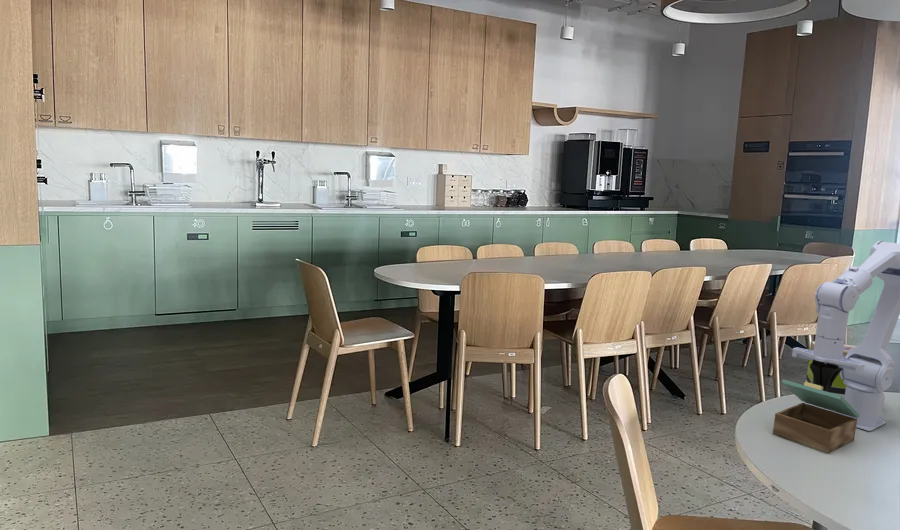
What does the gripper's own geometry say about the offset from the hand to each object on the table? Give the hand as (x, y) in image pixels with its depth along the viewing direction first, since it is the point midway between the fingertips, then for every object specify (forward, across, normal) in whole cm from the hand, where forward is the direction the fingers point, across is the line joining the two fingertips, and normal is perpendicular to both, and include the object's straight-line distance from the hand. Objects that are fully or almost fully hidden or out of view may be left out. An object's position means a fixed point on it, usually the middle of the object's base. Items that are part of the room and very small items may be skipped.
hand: (822, 395), depth 153 cm
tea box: (+10, -8, +29) cm, 32 cm away
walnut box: (+10, 0, -2) cm, 10 cm away
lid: (+1, 0, -1) cm, 1 cm away
